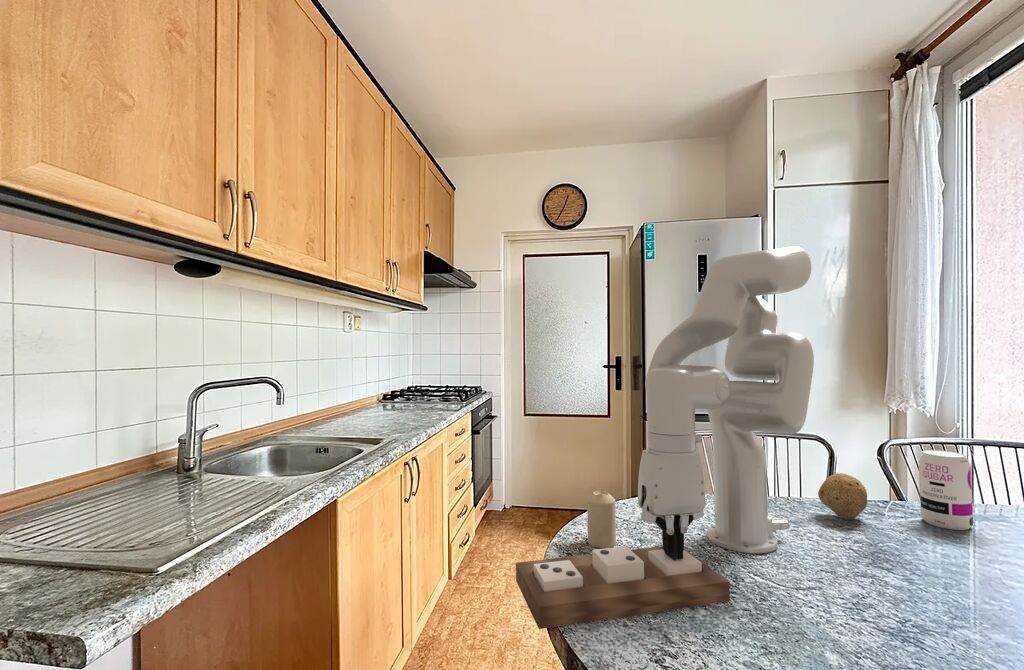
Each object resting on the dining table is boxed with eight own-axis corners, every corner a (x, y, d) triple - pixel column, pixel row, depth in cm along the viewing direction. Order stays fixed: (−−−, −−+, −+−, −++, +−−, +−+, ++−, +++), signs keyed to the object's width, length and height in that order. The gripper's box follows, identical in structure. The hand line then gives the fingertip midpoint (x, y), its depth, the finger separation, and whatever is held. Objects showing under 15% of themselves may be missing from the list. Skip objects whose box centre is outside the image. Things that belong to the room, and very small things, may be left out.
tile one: (680, 565, 81) (680, 546, 81) (702, 581, 75) (701, 561, 75) (648, 568, 80) (648, 549, 80) (667, 586, 74) (667, 565, 74)
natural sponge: (812, 517, 106) (810, 472, 106) (828, 509, 111) (827, 466, 112) (860, 529, 99) (858, 481, 99) (875, 520, 104) (873, 474, 104)
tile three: (569, 578, 77) (569, 558, 77) (583, 597, 71) (582, 576, 71) (533, 583, 75) (533, 563, 75) (544, 602, 69) (544, 580, 70)
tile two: (626, 564, 79) (626, 545, 79) (644, 581, 73) (643, 560, 73) (592, 568, 78) (592, 548, 78) (607, 586, 72) (607, 564, 72)
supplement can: (967, 521, 103) (964, 451, 103) (978, 534, 96) (974, 459, 96) (918, 515, 107) (915, 448, 107) (925, 526, 100) (922, 455, 100)
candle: (616, 549, 91) (615, 496, 91) (587, 547, 92) (586, 495, 92) (615, 538, 96) (614, 488, 96) (588, 536, 97) (587, 487, 97)
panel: (678, 561, 85) (677, 544, 85) (730, 601, 72) (729, 581, 72) (516, 581, 79) (515, 562, 79) (538, 629, 65) (538, 607, 65)
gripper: (697, 436, 83) (700, 542, 83) (619, 441, 80) (621, 551, 79) (725, 445, 76) (728, 561, 75) (640, 449, 73) (642, 571, 72)
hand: (673, 555), depth 77 cm, fingers closed
